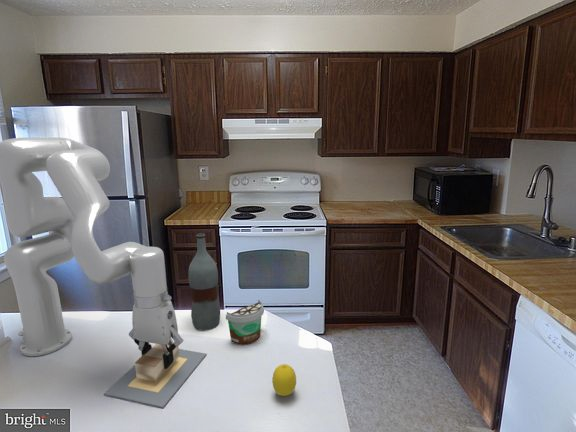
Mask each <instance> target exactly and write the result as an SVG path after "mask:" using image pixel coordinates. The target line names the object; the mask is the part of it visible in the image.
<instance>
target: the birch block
mask: <svg viewBox="0 0 576 432" xmlns="http://www.w3.org/2000/svg"><path fill="white" fill-rule="evenodd" d="M173 343H174V342H173ZM167 346H168V348H169V345H168V344H167ZM179 346H180V345H179ZM179 346H177V347H176V348H175V349H174V350H173V358H174V361H173V363H174V362H175V361H176V360H177V359H178V358H179V349H180V348H179ZM163 354H164V351H163V349H162V346H161V344H156V343H154V345H153V346H152V348H151V349H150V350H149V351H148V352H147V353H146V354H145V355H142V354H141V356H140V357H139V358H138V359H137V360H136V361H135V362H134V365H135V369H136V377H137V378H141V379H146V380H151V381H157V380H158V379H159V378H160V377H161V376H162V375H163V374H164V373H165V372H166V370H167V369H168V368H169V367H170V366H171V365H172V364H173V363H172V364H171V365H170V366H169V367H168V368H167V369H164V362H163Z"/></svg>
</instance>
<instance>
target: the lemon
mask: <svg viewBox="0 0 576 432" xmlns="http://www.w3.org/2000/svg"><path fill="white" fill-rule="evenodd" d="M271 382H272V387H273V389H274V391H275V392H276V393H277V395H279V396H282V397H287V396H289V395H291V394H293V392H294V391H295V390H296V385H297V375H296V372H295V370H294V368H293V367H292V366H291V365H288V364H284V363H283V364H282V363H281V364H279V365H278V366H277V367H275V369H274V371H273V374H272V381H271Z"/></svg>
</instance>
